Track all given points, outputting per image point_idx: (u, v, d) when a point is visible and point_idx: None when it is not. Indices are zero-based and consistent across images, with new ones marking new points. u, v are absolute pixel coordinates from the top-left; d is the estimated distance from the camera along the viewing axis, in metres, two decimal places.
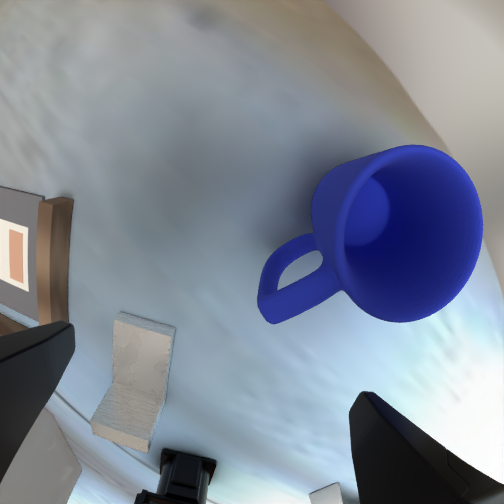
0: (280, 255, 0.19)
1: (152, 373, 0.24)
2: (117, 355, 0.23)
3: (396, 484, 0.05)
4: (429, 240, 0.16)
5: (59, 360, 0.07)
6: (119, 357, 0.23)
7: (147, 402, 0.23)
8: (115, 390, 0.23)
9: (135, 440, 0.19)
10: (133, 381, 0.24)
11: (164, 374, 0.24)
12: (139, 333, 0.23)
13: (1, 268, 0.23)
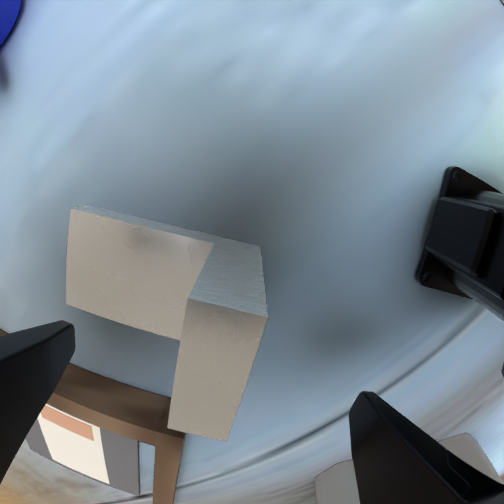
0: None
1: (150, 255, 0.13)
2: (126, 317, 0.13)
3: (396, 484, 0.05)
4: None
5: (59, 360, 0.07)
6: (130, 314, 0.13)
7: None
8: None
9: (203, 339, 0.08)
10: (180, 301, 0.13)
11: (147, 230, 0.12)
12: (75, 264, 0.13)
13: (91, 447, 0.18)
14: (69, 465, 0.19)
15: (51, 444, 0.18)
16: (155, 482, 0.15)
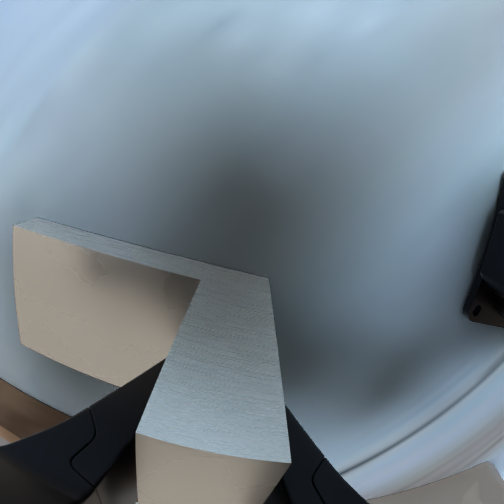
0: None
1: (112, 292, 0.08)
2: (91, 367, 0.09)
3: None
4: None
5: None
6: (94, 364, 0.09)
7: None
8: None
9: (174, 480, 0.03)
10: (157, 354, 0.09)
11: (106, 258, 0.08)
12: (24, 298, 0.09)
13: None
14: None
15: None
16: None
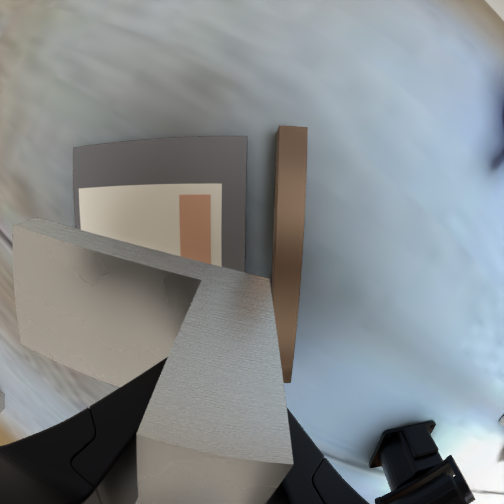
0: None
1: (112, 292, 0.08)
2: (91, 367, 0.09)
3: None
4: None
5: None
6: (94, 365, 0.09)
7: None
8: None
9: (175, 482, 0.03)
10: (158, 354, 0.09)
11: (107, 259, 0.08)
12: (24, 298, 0.09)
13: None
14: (85, 217, 0.19)
15: (119, 196, 0.19)
16: None
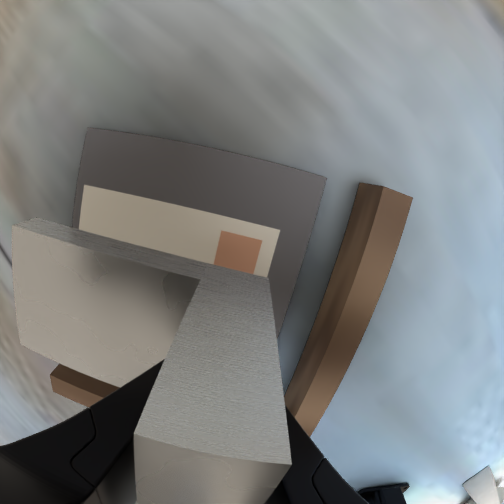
0: None
1: (111, 292, 0.08)
2: (90, 367, 0.09)
3: None
4: None
5: None
6: (94, 365, 0.09)
7: None
8: None
9: (173, 482, 0.03)
10: (157, 354, 0.09)
11: (106, 258, 0.08)
12: (23, 298, 0.09)
13: None
14: (87, 225, 0.14)
15: (138, 211, 0.14)
16: None
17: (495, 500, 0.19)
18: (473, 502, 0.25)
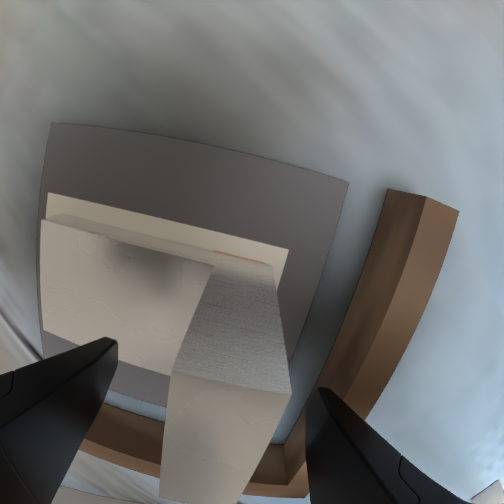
0: None
1: (134, 277, 0.10)
2: None
3: (343, 489, 0.05)
4: None
5: (105, 379, 0.07)
6: None
7: None
8: None
9: (197, 419, 0.05)
10: (174, 333, 0.10)
11: (131, 248, 0.10)
12: (49, 286, 0.10)
13: None
14: None
15: (110, 225, 0.11)
16: None
17: None
18: None
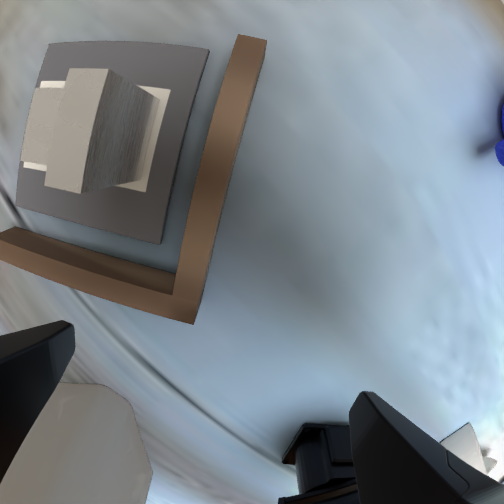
0: None
1: None
2: None
3: (396, 484, 0.05)
4: None
5: (59, 360, 0.07)
6: None
7: None
8: None
9: (73, 92, 0.09)
10: None
11: None
12: (31, 126, 0.14)
13: None
14: None
15: None
16: (94, 275, 0.16)
17: (480, 465, 0.21)
18: None
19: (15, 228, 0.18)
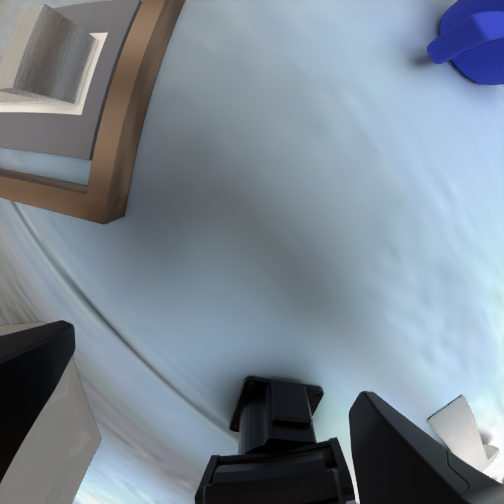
0: None
1: None
2: (17, 95, 0.14)
3: (396, 484, 0.05)
4: None
5: (59, 360, 0.07)
6: None
7: None
8: None
9: (20, 23, 0.09)
10: None
11: None
12: None
13: None
14: None
15: None
16: (29, 184, 0.15)
17: (478, 447, 0.19)
18: None
19: None
